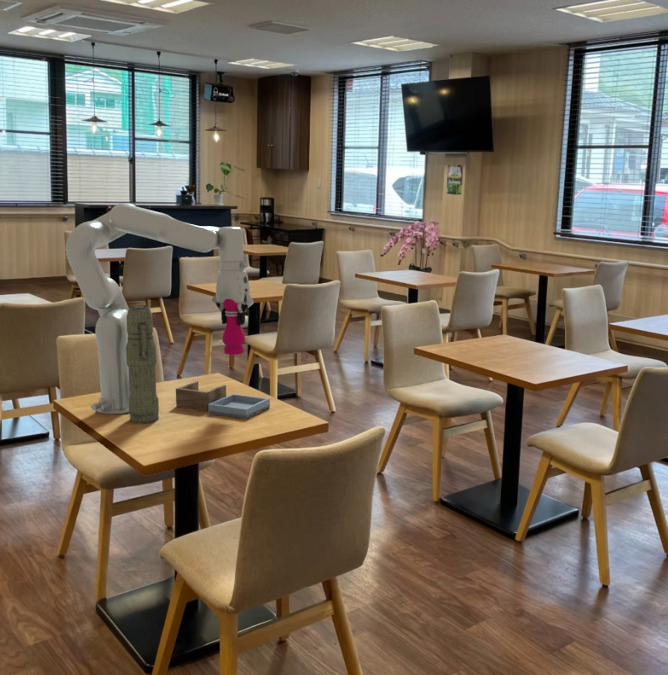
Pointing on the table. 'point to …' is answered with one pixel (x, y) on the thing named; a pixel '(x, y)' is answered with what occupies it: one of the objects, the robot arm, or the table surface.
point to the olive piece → (141, 365)
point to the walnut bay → (198, 396)
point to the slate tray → (238, 406)
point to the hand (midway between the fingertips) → (233, 323)
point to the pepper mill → (232, 330)
